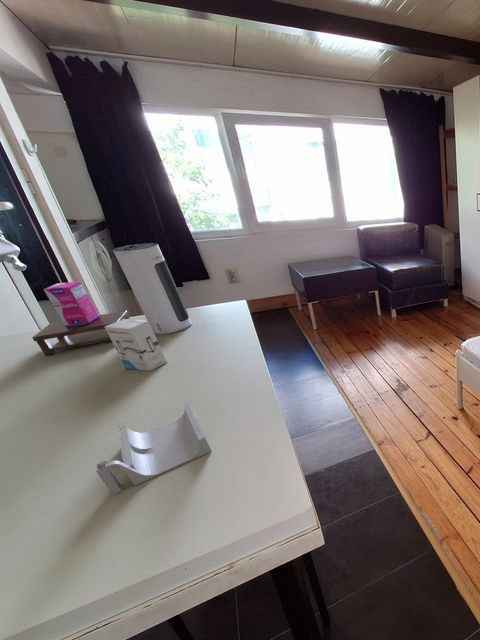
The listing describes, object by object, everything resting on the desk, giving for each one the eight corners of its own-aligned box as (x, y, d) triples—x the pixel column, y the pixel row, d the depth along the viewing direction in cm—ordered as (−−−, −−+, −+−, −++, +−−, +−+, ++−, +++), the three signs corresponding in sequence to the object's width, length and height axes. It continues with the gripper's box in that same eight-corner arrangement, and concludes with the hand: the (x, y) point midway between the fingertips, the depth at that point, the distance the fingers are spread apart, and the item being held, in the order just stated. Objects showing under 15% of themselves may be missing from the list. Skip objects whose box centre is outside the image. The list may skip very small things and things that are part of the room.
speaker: (176, 334, 111) (137, 248, 99) (143, 335, 112) (100, 249, 100) (199, 321, 121) (166, 240, 109) (169, 322, 121) (133, 242, 109)
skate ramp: (211, 451, 64) (200, 428, 61) (112, 495, 56) (95, 471, 53) (195, 415, 74) (184, 394, 71) (109, 448, 66) (94, 425, 63)
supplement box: (65, 327, 104) (41, 289, 99) (78, 320, 109) (56, 283, 104) (89, 324, 105) (67, 286, 100) (101, 317, 110) (81, 280, 105)
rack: (44, 357, 101) (31, 337, 98) (61, 341, 111) (50, 323, 108) (126, 341, 108) (116, 322, 106) (135, 327, 118) (126, 310, 115)
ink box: (124, 368, 93) (101, 326, 88) (143, 359, 97) (122, 318, 92) (150, 371, 91) (128, 328, 86) (169, 361, 95) (149, 320, 90)
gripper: (-107, 235, 83) (-29, 273, 88) (-16, 223, 101) (44, 256, 106) (-115, 256, 84) (-38, 293, 90) (-24, 241, 102) (36, 272, 108)
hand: (7, 273), depth 98 cm, fingers open, 8 cm apart
